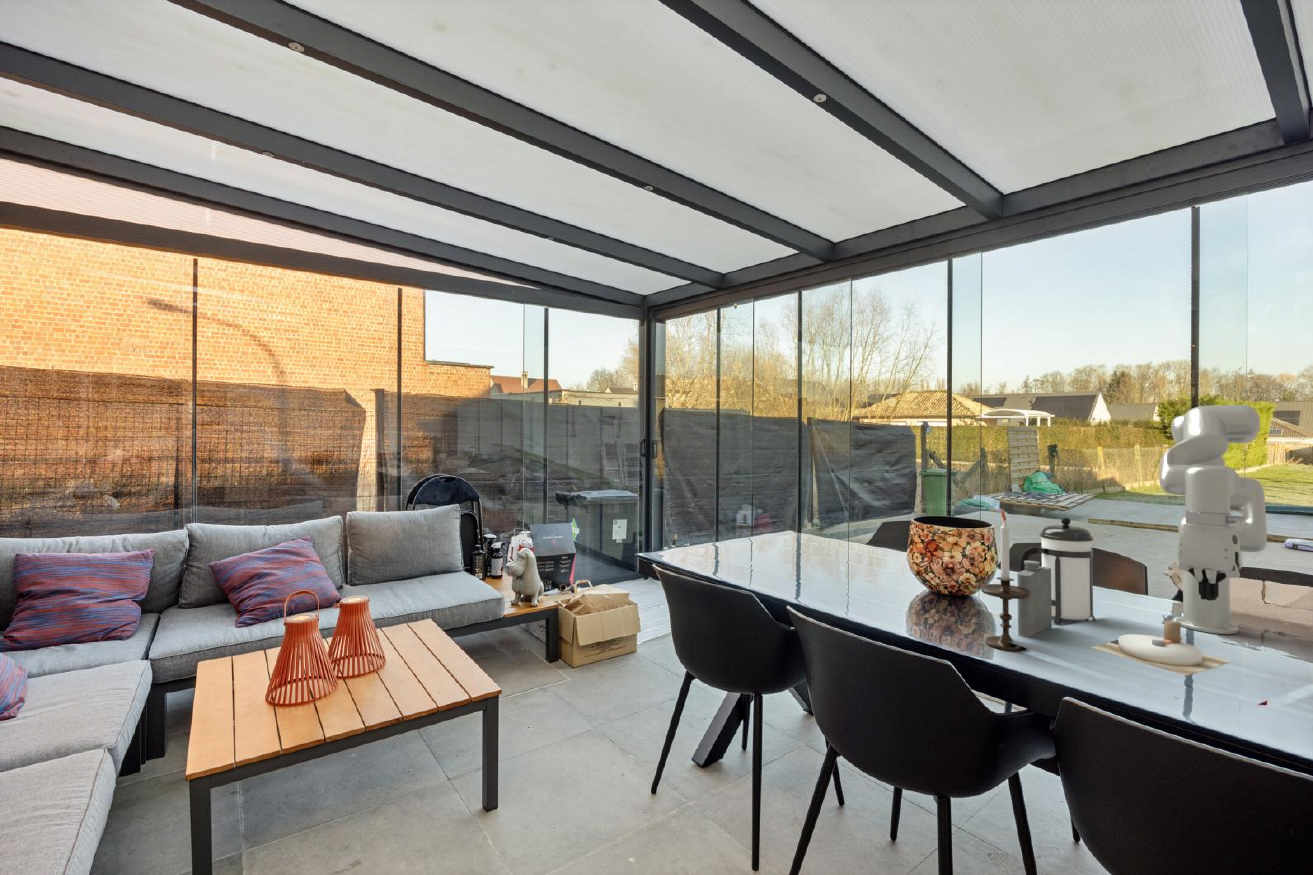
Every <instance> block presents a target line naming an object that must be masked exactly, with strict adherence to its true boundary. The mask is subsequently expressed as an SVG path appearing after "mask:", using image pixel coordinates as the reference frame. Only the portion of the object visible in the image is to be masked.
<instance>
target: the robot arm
mask: <svg viewBox="0 0 1313 875" xmlns="http://www.w3.org/2000/svg"><path fill="white" fill-rule="evenodd" d="M1260 429H1261V418H1260V415H1259V412H1258V411H1257V409H1256V408H1255V407H1253V406H1251V405H1247V404H1224V405H1223V404H1220V405H1219V404H1218V405H1217V404H1216V405H1201V406H1196V407H1193V408H1191V409H1189V410H1188V411H1187V412H1186V413H1185V414H1182V415H1178V416H1175V417H1174V418H1173V419H1172V420H1171V426H1170V431H1171V435H1172V438H1173V441H1174V445H1173V446H1171V447H1170V448H1168V449H1167V450H1166V451H1165V452H1164V454H1162V456H1161V459H1160V462H1159V473H1158V474H1159V476H1158V477H1159V479H1158V480H1159V481H1158V482H1159V487H1160V488H1161V490H1162V491H1163V492H1164V493H1166V494H1169V495H1174V496H1184V500H1185V515H1184V516H1181V518H1180V519H1179V520H1178V523H1177V528H1178V529H1177V530H1178V536H1179V537H1178V547H1177V560H1178V569H1179V570H1181V571H1182V596H1183V597H1182V599H1183V600H1182V606H1183V608H1182V609H1183V616H1179V617H1176V619H1175V622H1178V623H1180V624H1181V626H1182V627H1183V628H1186V629H1190V630H1194V631H1198V632H1204V633H1208V634H1209V633H1210V634H1211V633H1212V634H1216V635H1217V634H1219V635H1235V634H1238V633H1239V627H1238V626H1237V625H1235V624H1233V623H1231V618H1233V617H1234V613H1233V612H1232V611H1231V592H1230V591H1231V589H1230V587H1231V586H1230V579H1232V578H1233V579H1235V578H1240V577H1241V574H1240V573H1241V572H1240V570H1241V569H1242V566H1243V565H1242V564H1243V563H1242V553H1241V552H1243V553H1244V552H1245V553H1259V552H1262V551H1264V550H1265V548H1266V546H1267V543H1268V542H1267V540H1268V536H1267V534H1268V533H1267V531H1268V530H1267V516H1266V513H1267V512H1266V498H1265V497H1266V496H1265V491H1264V487H1263V485H1262V484H1261V482H1260V481H1259V480H1257V479H1255V478H1251V477H1243V476H1240V474H1239V473H1238V472H1236V470H1235V469H1234V468H1232V467H1231V466H1227V465H1226V461H1225V459H1224V457H1223V456H1224V455H1225V454H1226V453H1227V451H1228V450H1229V444H1248V443H1252V442H1253V441H1254V440H1256V438H1257V436H1258V434H1259V432H1260ZM1231 512H1237V513H1239V514H1240V515H1241V516H1240V515H1239V516H1238V515H1232V513H1231Z"/></svg>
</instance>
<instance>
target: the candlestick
mask: <svg viewBox="0 0 1313 875" xmlns="http://www.w3.org/2000/svg"><path fill="white" fill-rule="evenodd" d="M1000 512H1001V517H1002V521H1003V523H1002V526H1000V577H996V578H995V579H997V580H998V581H999V580H1000V583H987V584H984V585H981V586H980V590H981V591H980V592H982V594H985V595H987V596H988V595H989V596H990V597H996V598H999V599H1001V600H1002V612H1001V613H1000V614H999V618H1000V619H1001V621H1002V623H1000V624H999V626H1000V627H1002V634H1001V635H993V636H992V635H991V636H987V637H985V644H986V645H987V646H988V647H991V648H993V649H995V650H998V651H999V650H1000V651H1005V652H1013V653H1019V652H1020V653H1021V652H1026V651H1027V650H1028V647H1025V646H1023V645H1019V644H1016V643H1013V642H1014V639H1013V638H1012V637H1011V635H1010V628H1012V625H1011V624H1010V621H1011V620H1012V618H1013V615H1012V614H1010V613H1009V612H1010V611H1009V610H1010V606H1009V605H1010V604H1009V601H1011V600H1018V599H1026V598H1029V597H1030V591H1029V590H1027V589H1025V588H1021V587H1018V585H1017V586H1015V585H1012V584H1011V582H1014V581H1015V579H1014V578H1011V576H1010V526H1008V525H1007V517H1006V515H1005V512H1004V510H1003V509H1002V508H1001V509H1000Z"/></svg>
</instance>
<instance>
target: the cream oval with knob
mask: <svg viewBox="0 0 1313 875" xmlns="http://www.w3.org/2000/svg"><path fill="white" fill-rule="evenodd" d="M1181 630H1182V628H1181V624H1180V623H1178V622H1176V621H1173V620H1164V621H1163V637H1162V636H1156V635H1147V634H1123V635H1120V636H1118V637H1117V638H1118V639H1117V640H1118V646H1119V649H1120V650H1122V651H1123V652H1125V653H1127V654H1130V655H1132V656H1135V657H1138V658H1142V659H1145V660H1149V661H1154V662H1159V663H1165V664H1173V665H1197V664H1200V663H1201V662H1202V654H1203V652H1202V650H1201V649H1199V648H1198V647H1196V646H1194V645H1192V644H1189V643H1186V642H1184V641H1183V638H1182V636H1181V635H1182V634H1181V633H1182V632H1181ZM1182 641H1183V642H1182Z"/></svg>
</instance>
